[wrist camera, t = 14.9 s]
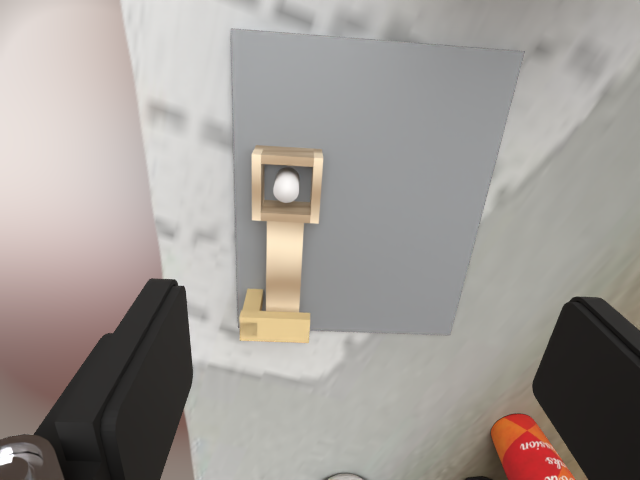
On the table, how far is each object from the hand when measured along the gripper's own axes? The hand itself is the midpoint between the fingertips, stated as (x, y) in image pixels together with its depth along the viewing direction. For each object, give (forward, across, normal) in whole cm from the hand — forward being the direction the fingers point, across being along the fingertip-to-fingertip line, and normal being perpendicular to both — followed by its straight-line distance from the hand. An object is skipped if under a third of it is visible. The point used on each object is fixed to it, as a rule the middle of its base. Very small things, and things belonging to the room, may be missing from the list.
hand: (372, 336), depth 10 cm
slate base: (+26, -4, +6) cm, 27 cm away
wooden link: (+25, +3, +10) cm, 27 cm away
